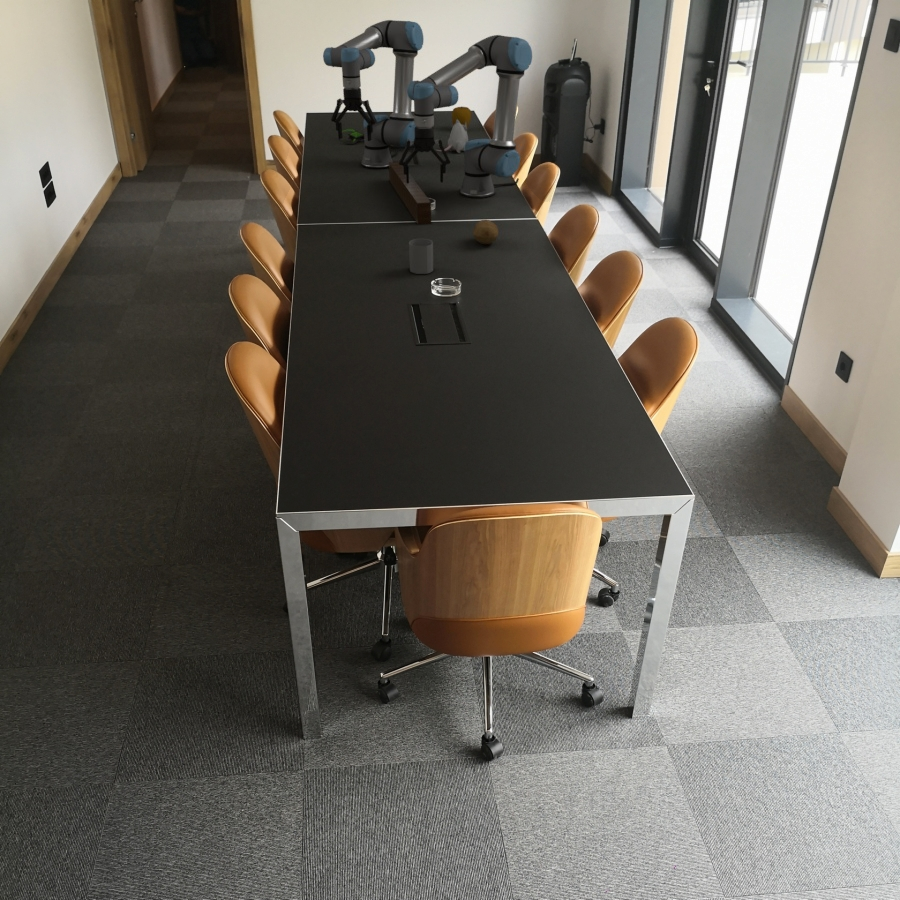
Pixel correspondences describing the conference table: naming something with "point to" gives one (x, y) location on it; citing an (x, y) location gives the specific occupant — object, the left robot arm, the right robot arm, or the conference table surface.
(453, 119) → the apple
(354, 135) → the green toy turtle
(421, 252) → the cup
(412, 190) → the beam
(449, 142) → the toy
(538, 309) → the conference table surface
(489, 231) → the potato
